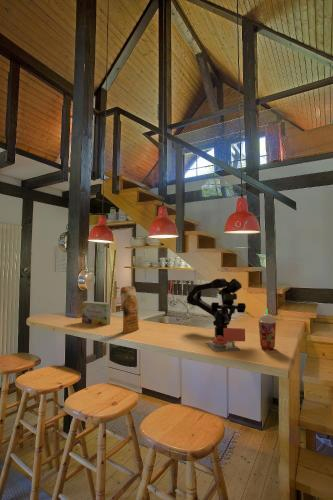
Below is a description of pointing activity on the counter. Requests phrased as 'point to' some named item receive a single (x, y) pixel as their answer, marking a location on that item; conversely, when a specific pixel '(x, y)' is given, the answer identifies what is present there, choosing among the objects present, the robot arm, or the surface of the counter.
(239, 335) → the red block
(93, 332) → the counter surface
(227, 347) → the grey base plate
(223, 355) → the counter surface
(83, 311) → the snack box
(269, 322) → the smoothie
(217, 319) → the robot arm
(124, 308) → the pancake mix bag
